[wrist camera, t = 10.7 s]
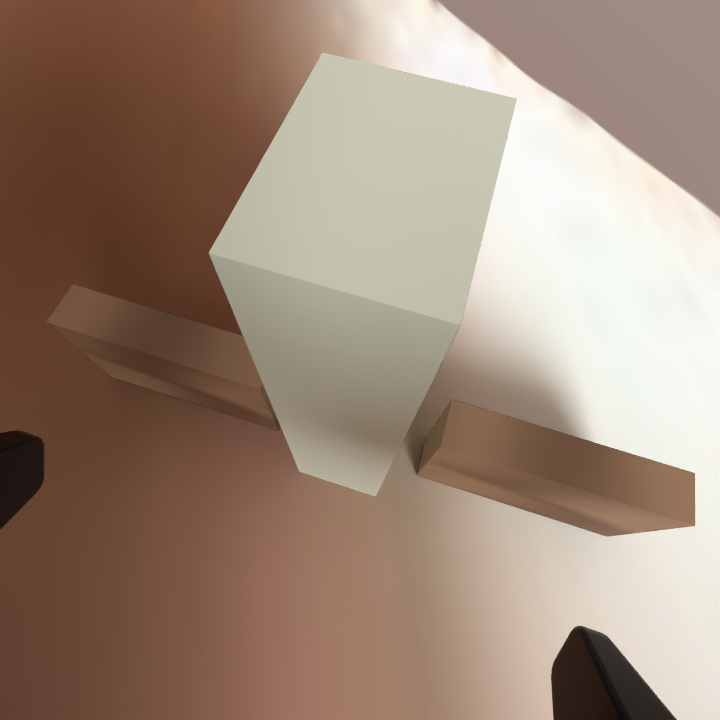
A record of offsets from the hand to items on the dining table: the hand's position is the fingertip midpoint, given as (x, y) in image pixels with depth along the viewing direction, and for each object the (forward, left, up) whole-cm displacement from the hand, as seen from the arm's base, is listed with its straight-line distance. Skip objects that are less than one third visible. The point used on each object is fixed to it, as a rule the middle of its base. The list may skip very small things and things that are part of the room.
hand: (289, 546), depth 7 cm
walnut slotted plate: (+3, +3, -9) cm, 10 cm away
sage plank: (+3, +3, -9) cm, 11 cm away
